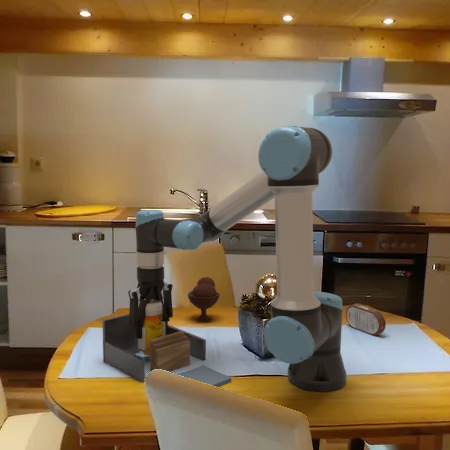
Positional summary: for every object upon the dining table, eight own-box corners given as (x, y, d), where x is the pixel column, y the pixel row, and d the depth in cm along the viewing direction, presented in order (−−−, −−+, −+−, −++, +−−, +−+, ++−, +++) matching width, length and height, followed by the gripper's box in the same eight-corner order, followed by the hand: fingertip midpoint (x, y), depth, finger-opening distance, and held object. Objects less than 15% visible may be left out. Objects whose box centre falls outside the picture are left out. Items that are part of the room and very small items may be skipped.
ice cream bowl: (187, 315, 193) (187, 274, 191) (218, 314, 194) (218, 274, 192) (188, 325, 182) (188, 282, 180) (221, 324, 184) (221, 281, 181)
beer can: (158, 357, 149) (158, 304, 147) (138, 355, 151) (137, 303, 149) (165, 349, 155) (164, 298, 153) (145, 347, 157) (144, 297, 155)
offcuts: (190, 365, 150) (190, 333, 148) (158, 376, 142) (157, 343, 141) (181, 361, 152) (181, 330, 151) (149, 372, 145) (149, 339, 143)
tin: (385, 337, 173) (387, 311, 172) (379, 339, 172) (380, 313, 170) (350, 324, 186) (351, 300, 184) (343, 325, 184) (344, 301, 183)
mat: (231, 381, 139) (231, 377, 139) (199, 394, 132) (199, 390, 132) (203, 368, 147) (203, 364, 147) (171, 380, 140) (171, 376, 140)
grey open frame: (205, 359, 153) (206, 319, 151) (141, 382, 138) (141, 337, 136) (165, 342, 166) (165, 304, 165) (103, 361, 151) (102, 320, 150)
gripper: (169, 259, 159) (170, 334, 162) (113, 269, 146) (115, 351, 149) (185, 263, 153) (186, 341, 157) (129, 273, 140) (131, 358, 144)
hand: (152, 345), depth 153 cm, fingers closed on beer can, 6 cm apart
